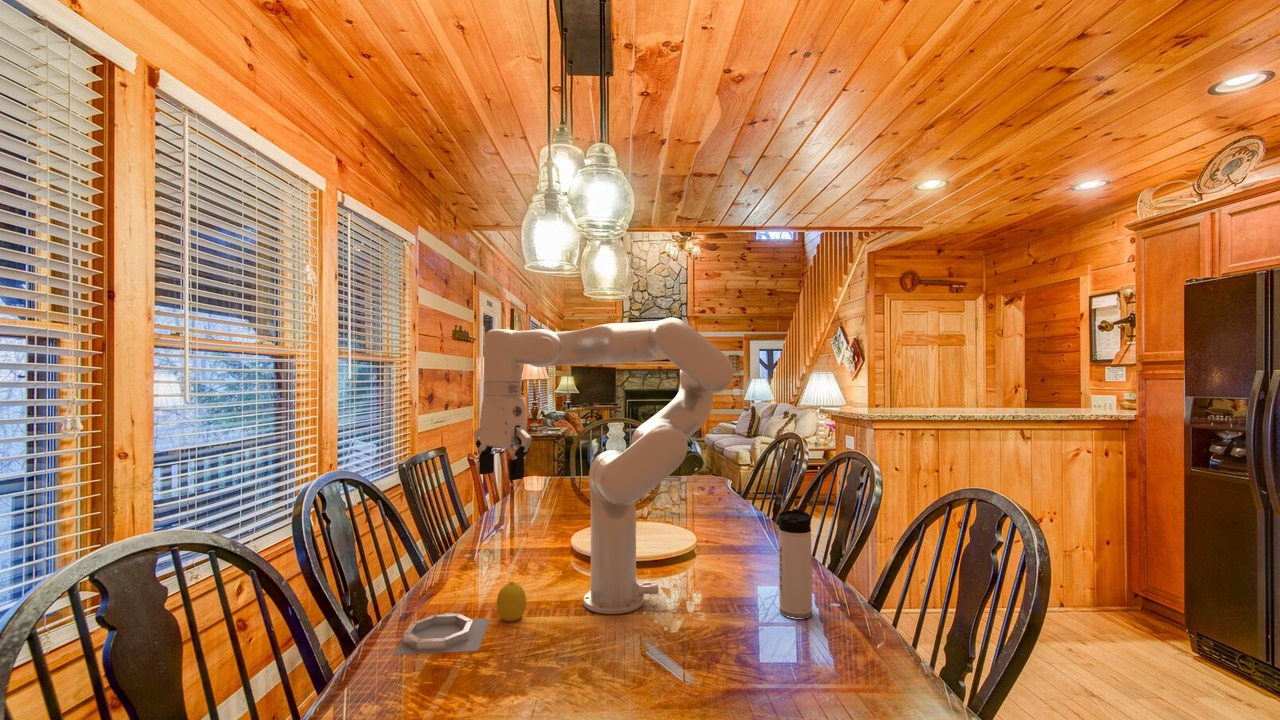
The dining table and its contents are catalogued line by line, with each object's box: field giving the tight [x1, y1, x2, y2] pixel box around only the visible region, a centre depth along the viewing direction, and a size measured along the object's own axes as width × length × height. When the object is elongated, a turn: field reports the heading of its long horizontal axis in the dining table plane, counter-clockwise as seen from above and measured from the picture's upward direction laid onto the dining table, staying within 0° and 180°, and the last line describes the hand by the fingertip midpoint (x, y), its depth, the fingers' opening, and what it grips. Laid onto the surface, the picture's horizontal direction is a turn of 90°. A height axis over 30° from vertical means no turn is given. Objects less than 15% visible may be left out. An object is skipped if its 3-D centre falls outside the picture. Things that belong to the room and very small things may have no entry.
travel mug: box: [778, 508, 813, 618], centre depth 113 cm, size 6×7×20 cm
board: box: [392, 617, 491, 656], centre depth 101 cm, size 14×13×1 cm
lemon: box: [496, 581, 527, 623], centre depth 109 cm, size 6×6×8 cm
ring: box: [402, 613, 473, 651], centre depth 101 cm, size 11×11×2 cm
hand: (500, 476), depth 113 cm, fingers open, 9 cm apart
